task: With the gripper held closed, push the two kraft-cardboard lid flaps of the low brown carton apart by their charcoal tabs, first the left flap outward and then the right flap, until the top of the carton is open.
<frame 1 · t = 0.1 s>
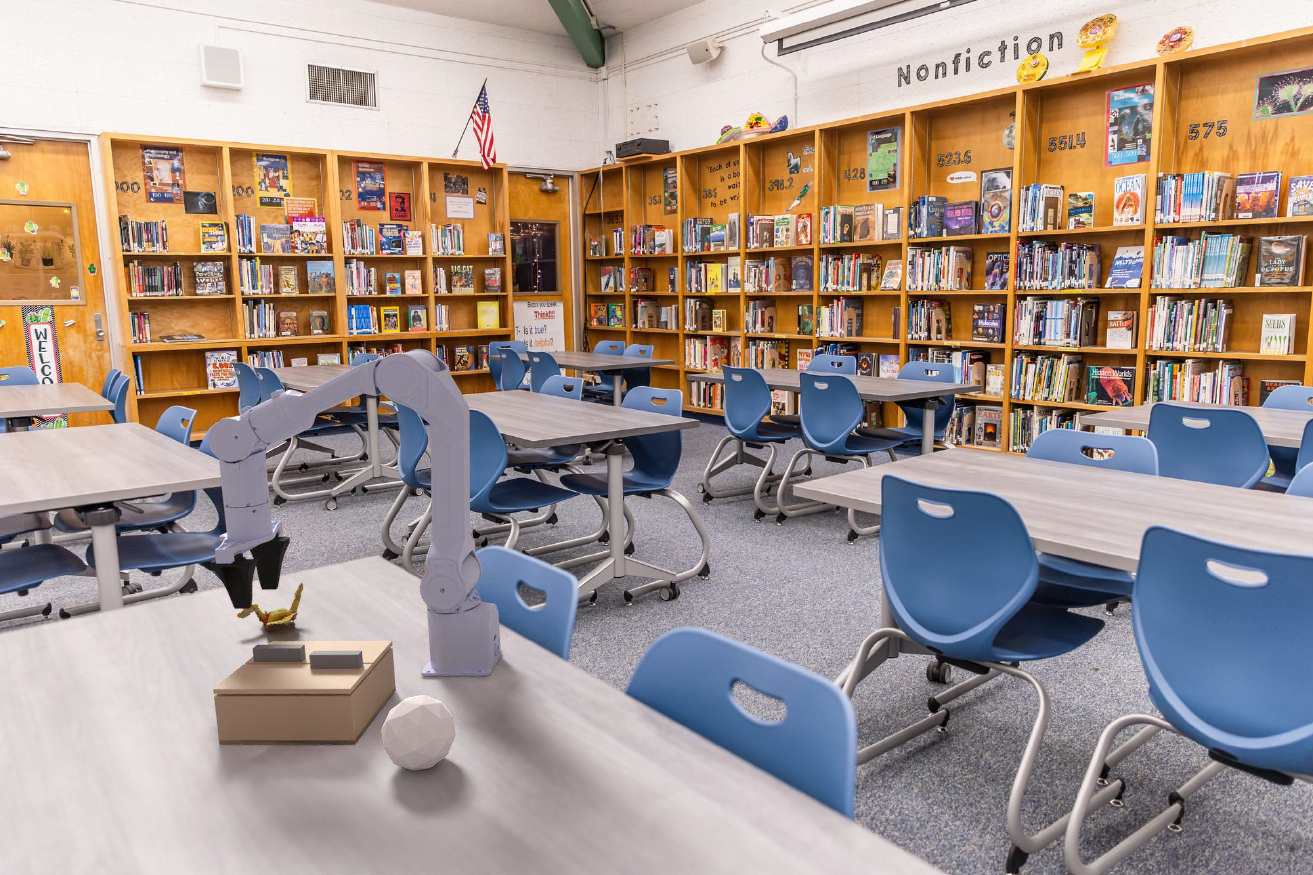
hand: (256, 598, 121), 10 cm above the table, tool pointing down, fingers open, 7 cm apart
right flap: (320, 647, 110), point 7 cm above the table, slide at 0.0 cm
geometric ball: (421, 765, 96), on the table
carton: (312, 716, 107), on the table
left flap: (294, 671, 103), point 8 cm above the table, slide at 0.0 cm
yellow dragon figurine: (280, 629, 137), on the table
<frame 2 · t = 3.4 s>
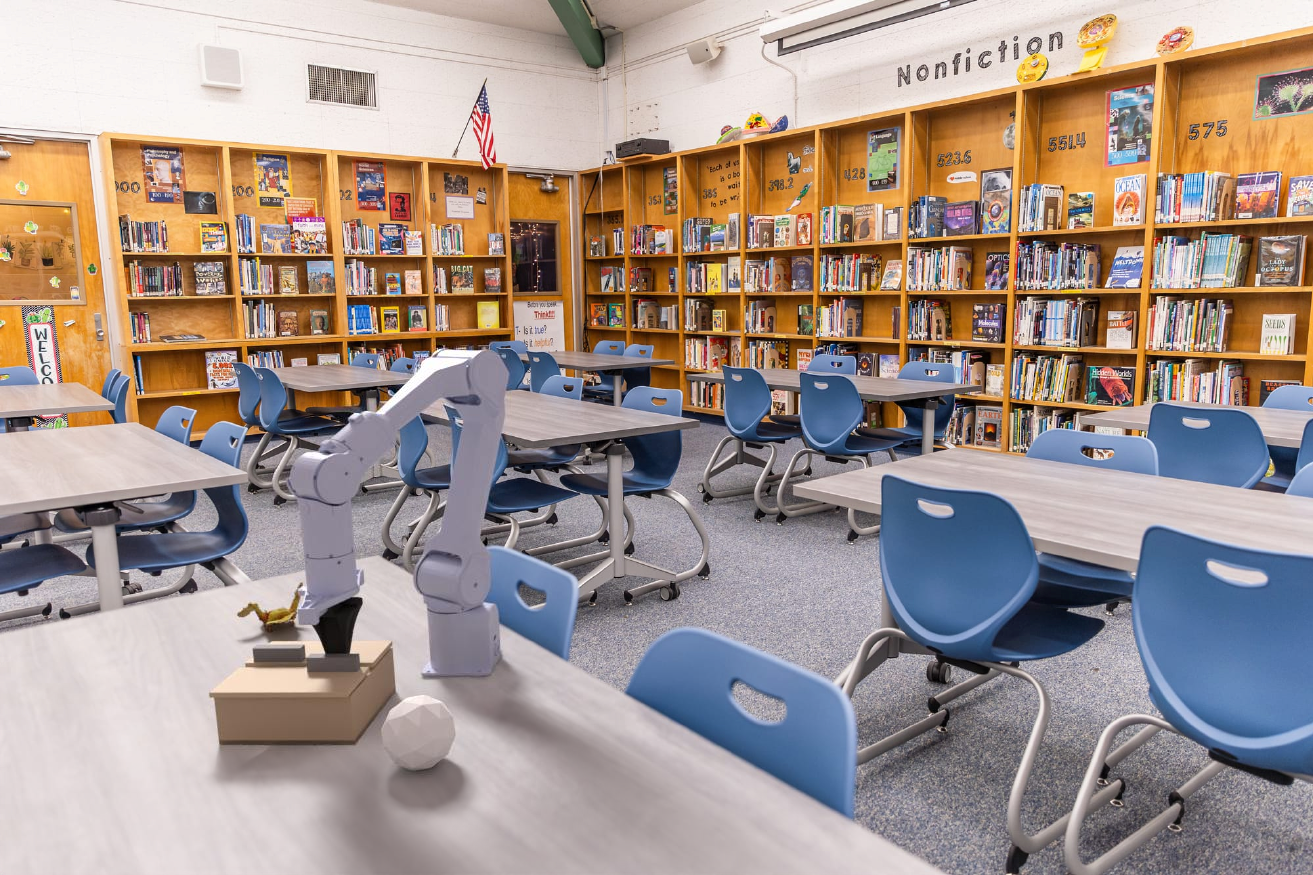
hand: (338, 660, 106), 7 cm above the table, tool pointing down, fingers closed
left flap: (290, 674, 102), point 7 cm above the table, slide at 0.9 cm, touching gripper
everything else where it was.
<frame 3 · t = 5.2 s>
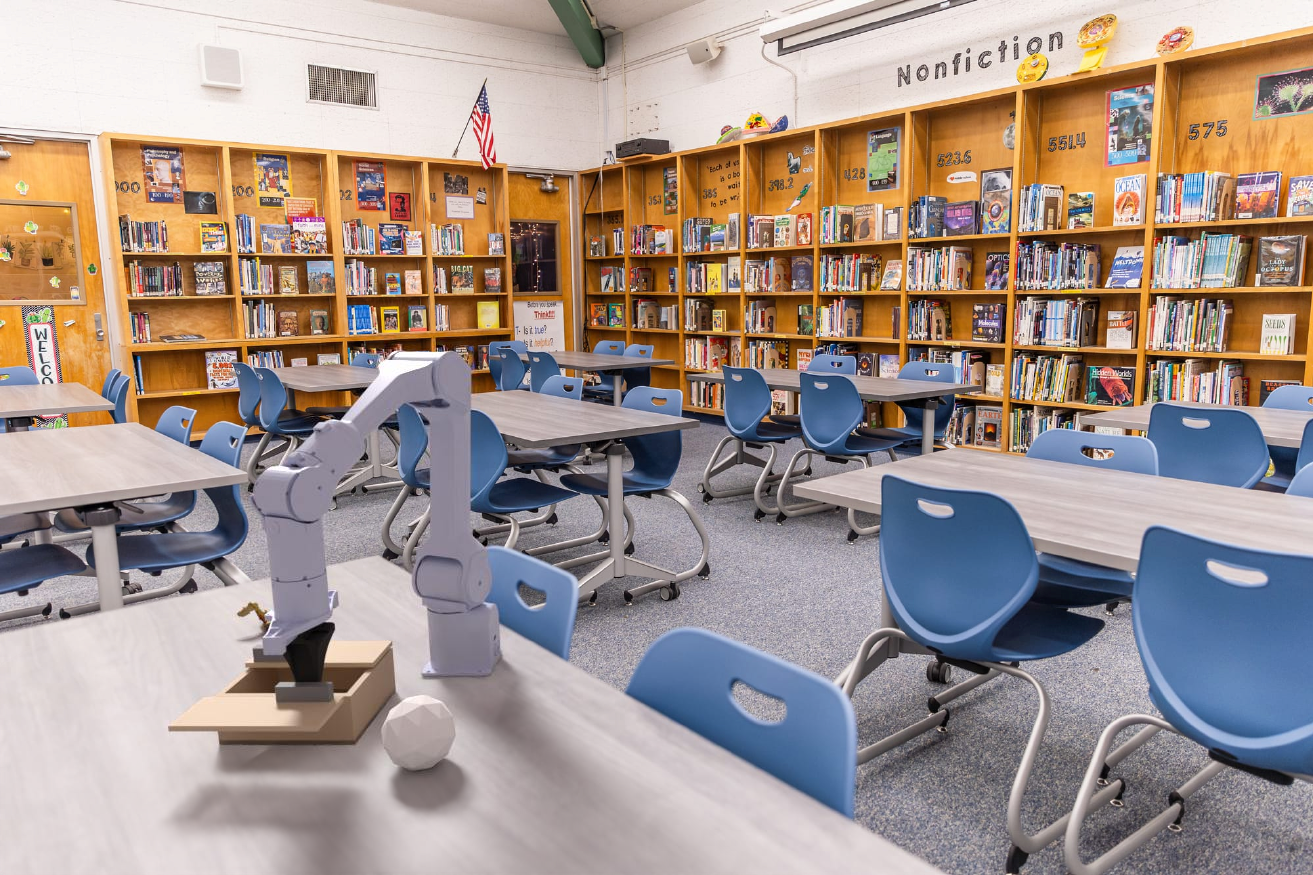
hand: (309, 690, 98), 7 cm above the table, tool pointing down, fingers closed
left flap: (257, 705, 94), point 8 cm above the table, slide at 8.7 cm, touching gripper
everything else where it was.
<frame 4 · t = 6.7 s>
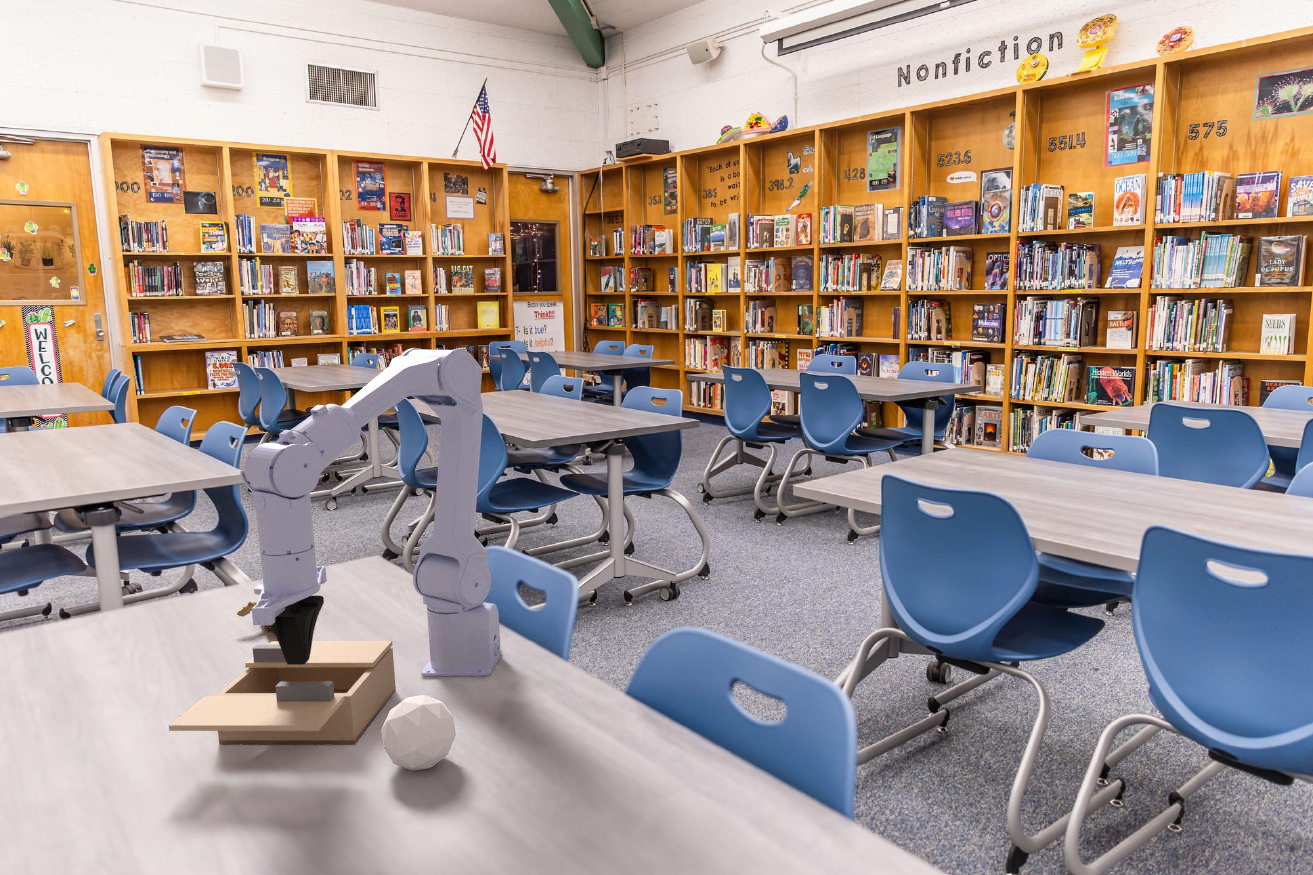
hand: (298, 662, 101), 9 cm above the table, tool pointing down, fingers closed
left flap: (258, 704, 94), point 8 cm above the table, slide at 8.6 cm
everything else where it was.
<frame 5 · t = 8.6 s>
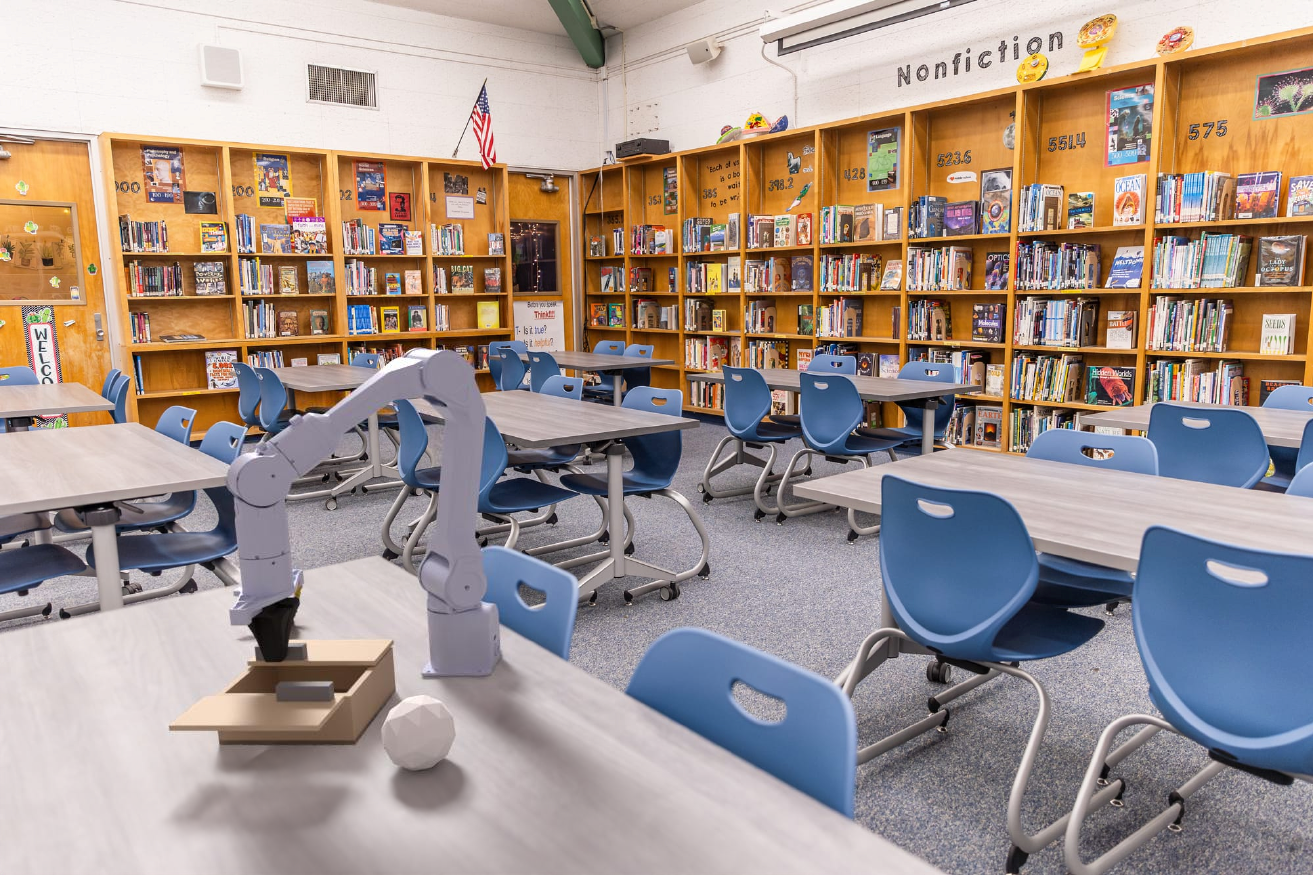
hand: (275, 660, 106), 7 cm above the table, tool pointing down, fingers closed
right flap: (321, 645, 110), point 7 cm above the table, slide at 0.5 cm, touching gripper
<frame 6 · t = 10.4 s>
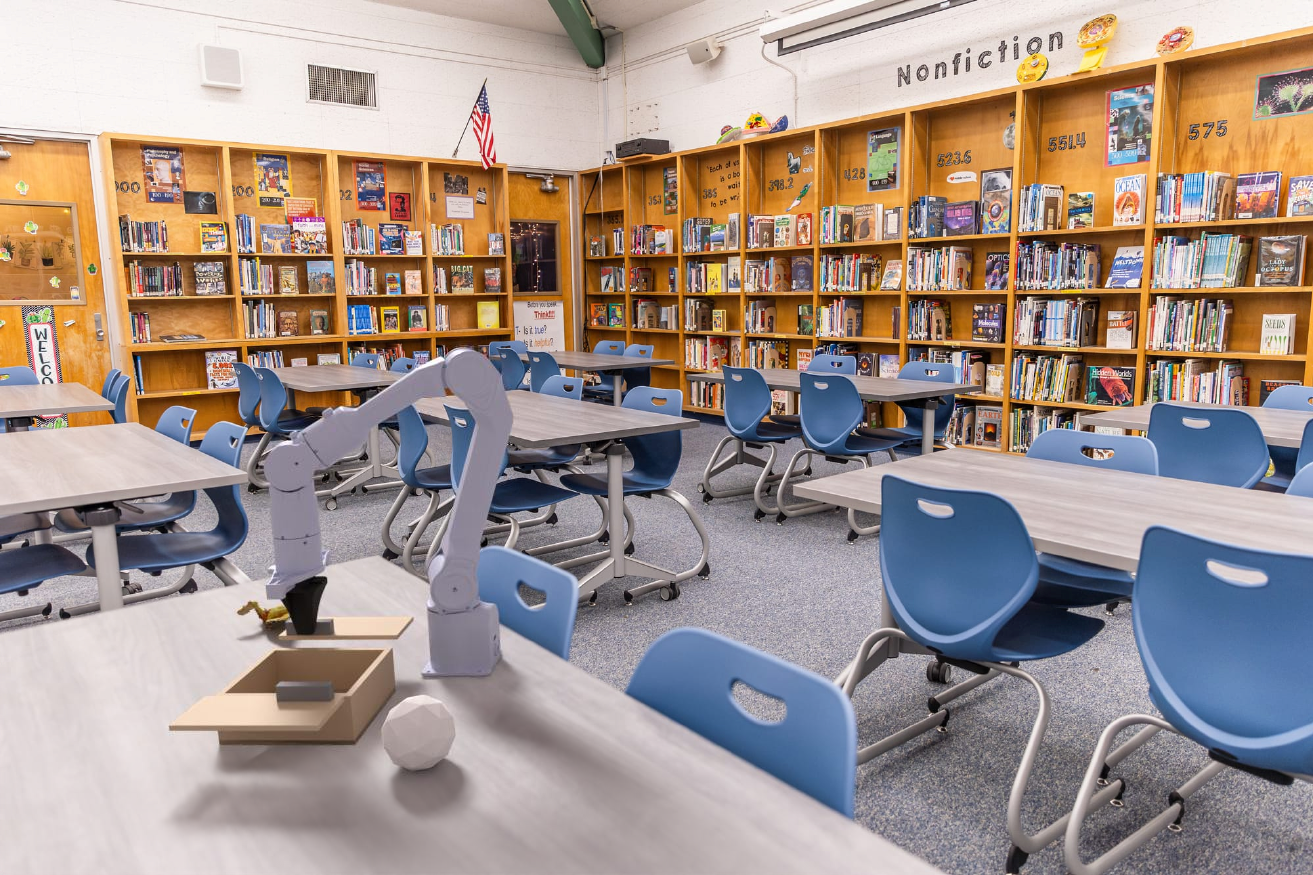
hand: (305, 633, 115), 7 cm above the table, tool pointing down, fingers closed
right flap: (347, 621, 118), point 7 cm above the table, slide at 8.7 cm, touching gripper
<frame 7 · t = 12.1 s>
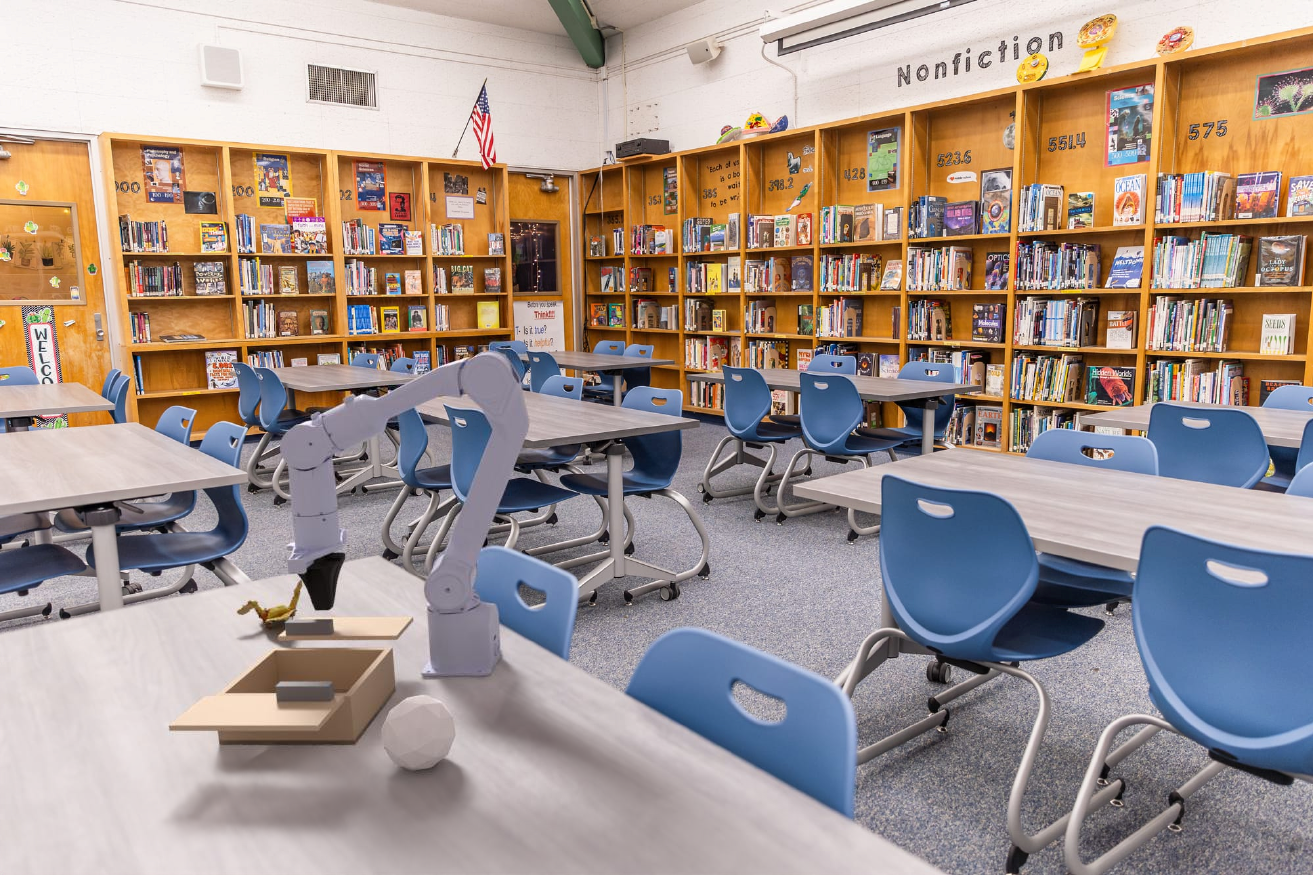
hand: (324, 608, 118), 9 cm above the table, tool pointing down, fingers closed
right flap: (346, 622, 118), point 7 cm above the table, slide at 8.6 cm
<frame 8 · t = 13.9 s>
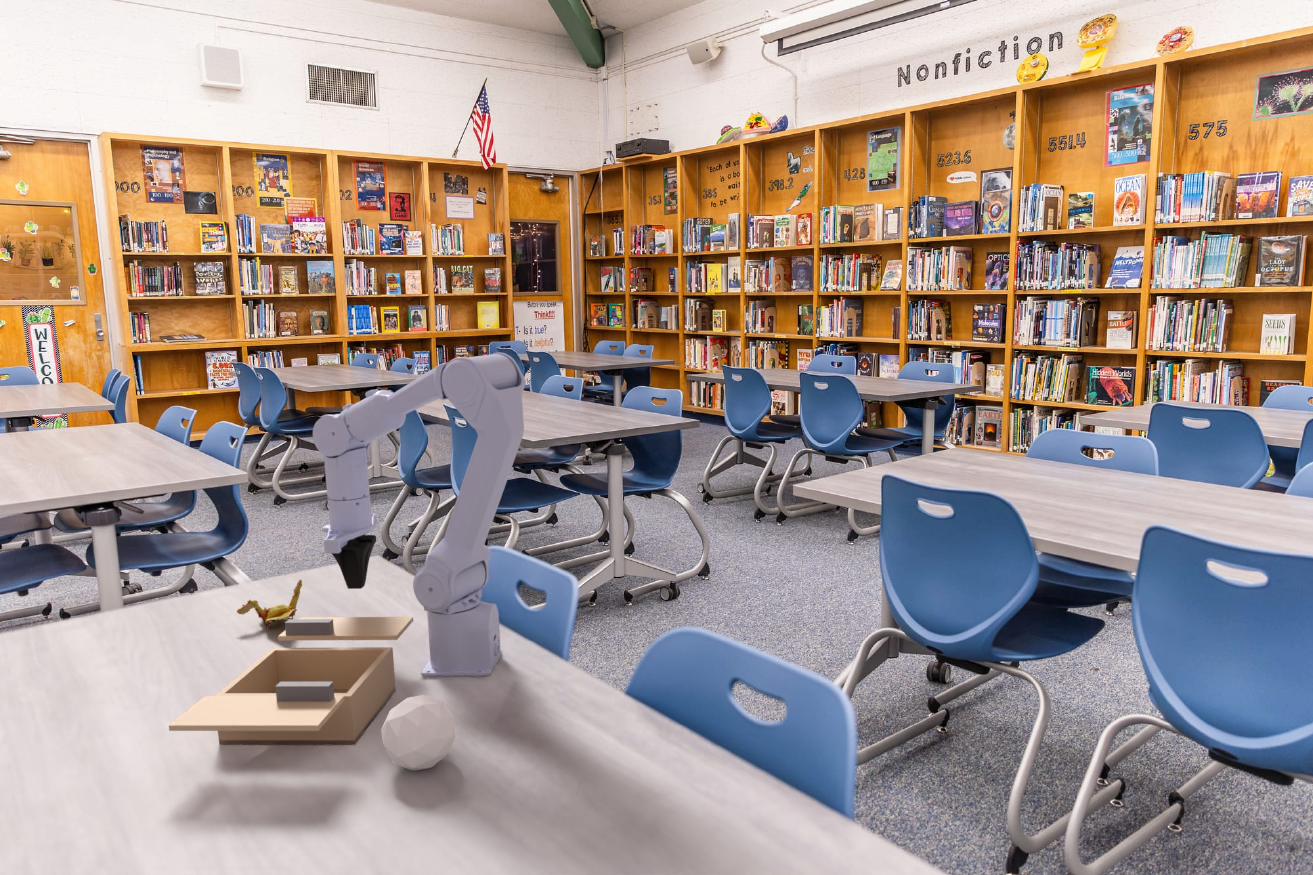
hand: (356, 587, 127), 9 cm above the table, tool pointing down, fingers closed
at the end: left flap slide at 8.6 cm; right flap slide at 8.6 cm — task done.
